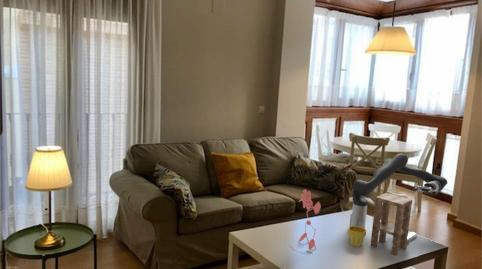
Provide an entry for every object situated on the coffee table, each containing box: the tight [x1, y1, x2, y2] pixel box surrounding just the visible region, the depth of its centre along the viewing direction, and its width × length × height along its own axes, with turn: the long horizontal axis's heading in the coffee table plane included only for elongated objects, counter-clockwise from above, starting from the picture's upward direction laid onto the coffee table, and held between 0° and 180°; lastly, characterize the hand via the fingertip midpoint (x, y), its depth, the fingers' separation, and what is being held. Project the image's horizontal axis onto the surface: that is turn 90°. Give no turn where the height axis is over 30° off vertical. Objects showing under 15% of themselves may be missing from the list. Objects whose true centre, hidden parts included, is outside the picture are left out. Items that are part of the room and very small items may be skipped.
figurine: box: [298, 189, 322, 255], centre depth 228 cm, size 15×26×35 cm, turn 17°
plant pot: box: [347, 226, 367, 247], centre depth 237 cm, size 10×10×10 cm
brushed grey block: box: [406, 231, 418, 246], centre depth 249 cm, size 20×6×3 cm, turn 135°
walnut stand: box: [369, 192, 413, 256], centre depth 233 cm, size 16×14×31 cm
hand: (421, 191), depth 252 cm, fingers open, 8 cm apart
